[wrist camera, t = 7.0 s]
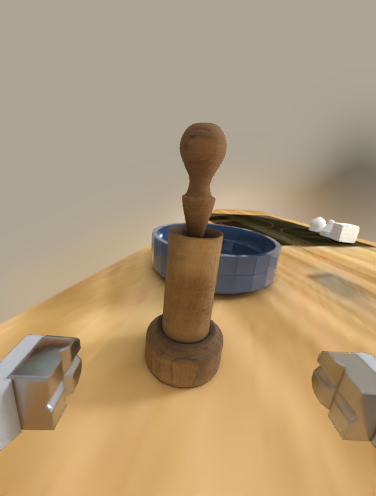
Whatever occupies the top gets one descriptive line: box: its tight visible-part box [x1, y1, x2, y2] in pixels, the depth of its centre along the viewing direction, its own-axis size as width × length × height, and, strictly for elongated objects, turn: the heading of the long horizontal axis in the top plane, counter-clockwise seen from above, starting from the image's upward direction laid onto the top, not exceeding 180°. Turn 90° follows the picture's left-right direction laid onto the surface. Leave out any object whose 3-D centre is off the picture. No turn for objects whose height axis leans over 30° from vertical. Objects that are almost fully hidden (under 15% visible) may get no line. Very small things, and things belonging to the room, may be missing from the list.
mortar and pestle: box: [145, 123, 227, 387], centre depth 17 cm, size 7×6×18 cm
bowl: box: [151, 223, 281, 294], centre depth 38 cm, size 21×21×6 cm
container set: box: [309, 217, 360, 243], centre depth 75 cm, size 20×5×6 cm, turn 178°
